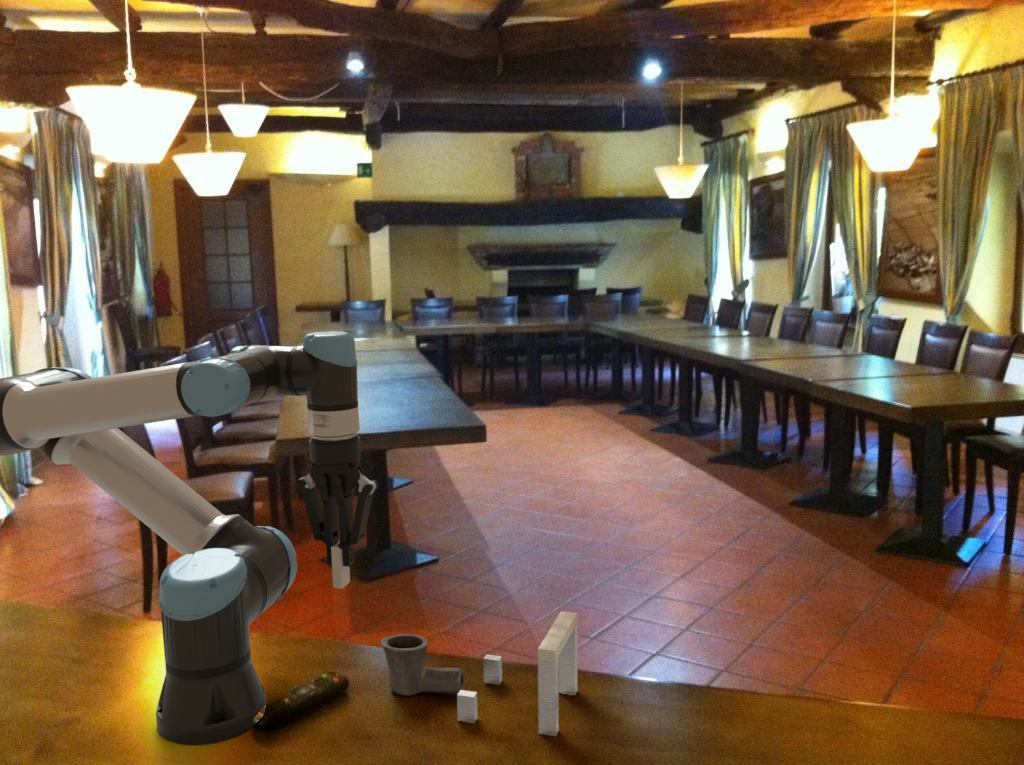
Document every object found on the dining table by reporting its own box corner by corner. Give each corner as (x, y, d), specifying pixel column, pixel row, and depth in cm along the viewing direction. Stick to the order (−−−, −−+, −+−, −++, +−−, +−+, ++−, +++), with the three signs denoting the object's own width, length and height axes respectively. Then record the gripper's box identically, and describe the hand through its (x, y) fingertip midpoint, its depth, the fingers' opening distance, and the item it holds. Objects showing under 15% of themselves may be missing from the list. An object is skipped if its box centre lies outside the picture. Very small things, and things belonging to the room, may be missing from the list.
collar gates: (457, 721, 126) (455, 638, 124) (487, 678, 138) (485, 602, 136) (556, 736, 121) (555, 651, 119) (577, 690, 134) (577, 612, 132)
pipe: (458, 705, 130) (456, 654, 129) (375, 697, 133) (373, 647, 131) (468, 685, 136) (467, 636, 135) (389, 678, 138) (387, 630, 137)
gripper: (282, 438, 130) (291, 589, 134) (362, 442, 127) (369, 598, 130) (308, 428, 137) (316, 572, 141) (384, 432, 134) (390, 580, 137)
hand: (341, 584), depth 136 cm, fingers closed
